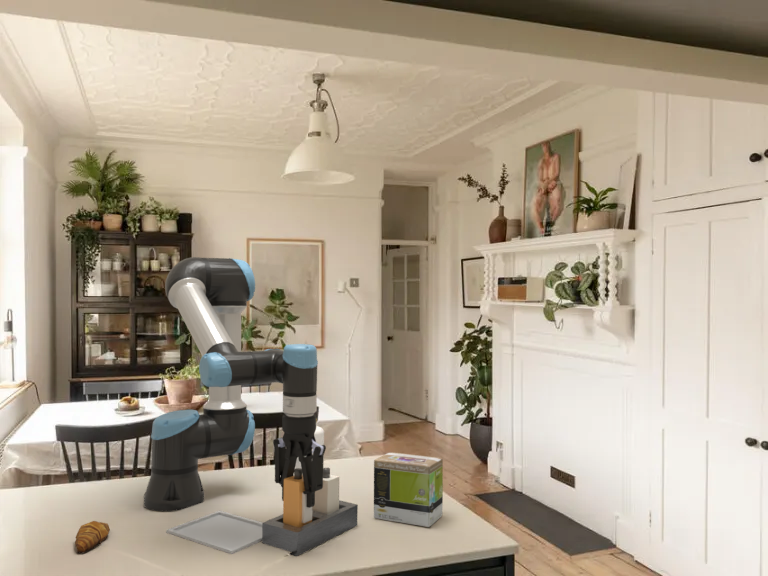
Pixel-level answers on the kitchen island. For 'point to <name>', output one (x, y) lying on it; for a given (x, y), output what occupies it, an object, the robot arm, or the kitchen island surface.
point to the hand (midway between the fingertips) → (297, 518)
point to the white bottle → (319, 439)
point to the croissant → (91, 536)
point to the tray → (221, 531)
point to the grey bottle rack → (309, 529)
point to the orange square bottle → (293, 499)
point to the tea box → (408, 488)
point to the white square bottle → (327, 494)
